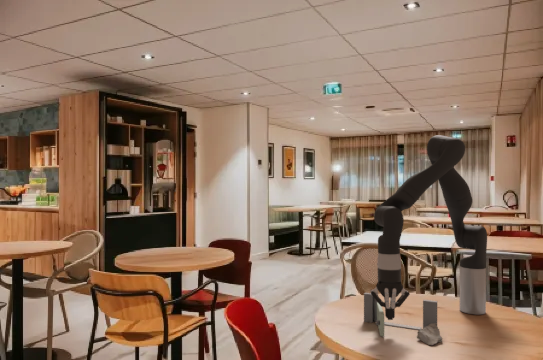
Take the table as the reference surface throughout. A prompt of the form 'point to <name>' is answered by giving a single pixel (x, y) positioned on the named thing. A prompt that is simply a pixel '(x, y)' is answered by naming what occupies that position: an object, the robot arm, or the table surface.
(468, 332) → the table surface
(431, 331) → the stone
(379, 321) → the door
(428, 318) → the door frame
